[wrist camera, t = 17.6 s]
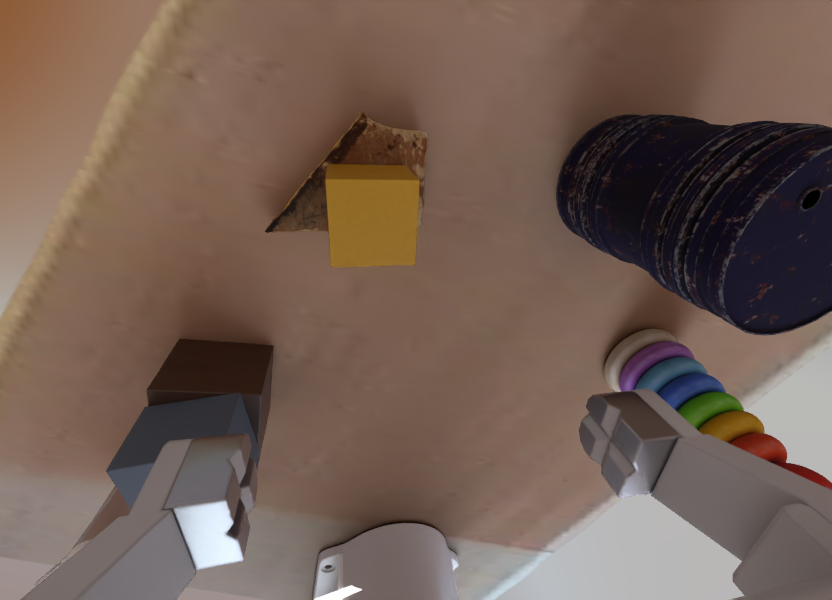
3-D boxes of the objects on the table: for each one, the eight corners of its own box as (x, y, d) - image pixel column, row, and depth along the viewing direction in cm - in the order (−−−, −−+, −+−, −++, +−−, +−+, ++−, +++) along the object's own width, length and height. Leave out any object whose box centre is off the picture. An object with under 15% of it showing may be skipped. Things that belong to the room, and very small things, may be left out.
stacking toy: (587, 361, 39) (765, 550, 23) (653, 310, 38) (894, 475, 21) (619, 397, 43) (793, 582, 27) (681, 352, 41) (906, 520, 25)
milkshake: (121, 442, 33) (45, 564, 25) (185, 459, 35) (136, 576, 27) (103, 475, 35) (25, 602, 26) (166, 489, 37) (113, 611, 28)
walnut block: (269, 409, 35) (258, 464, 29) (183, 406, 33) (154, 465, 28) (273, 345, 32) (261, 394, 26) (179, 338, 30) (145, 390, 25)
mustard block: (402, 238, 27) (415, 265, 23) (331, 239, 26) (331, 267, 22) (405, 165, 25) (419, 179, 21) (327, 163, 24) (325, 178, 20)
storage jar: (686, 187, 32) (927, 250, 19) (587, 263, 33) (745, 369, 21) (645, 80, 27) (928, 67, 14) (532, 175, 29) (693, 241, 16)
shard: (268, 226, 27) (264, 234, 25) (253, 105, 23) (247, 105, 22) (418, 226, 29) (422, 233, 27) (425, 115, 25) (430, 116, 24)
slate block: (261, 452, 29) (248, 515, 24) (176, 467, 28) (147, 535, 24) (240, 391, 26) (220, 451, 22) (144, 406, 25) (104, 471, 21)
